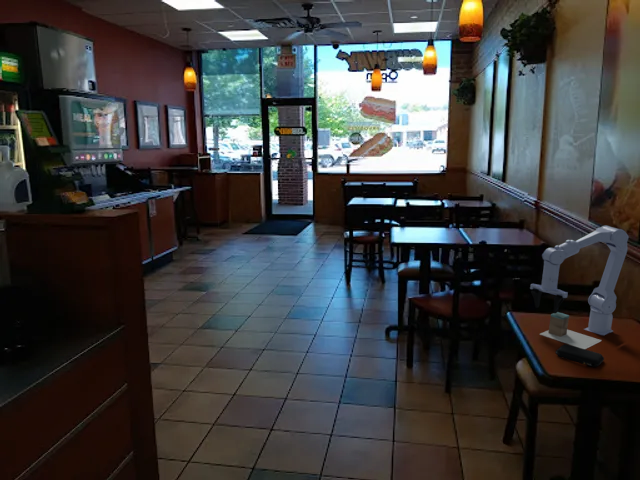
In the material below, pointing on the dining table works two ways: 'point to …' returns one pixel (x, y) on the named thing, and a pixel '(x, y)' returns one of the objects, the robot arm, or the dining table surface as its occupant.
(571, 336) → the mat
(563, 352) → the carrying case or bag
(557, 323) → the teal and wood block
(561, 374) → the dining table surface
